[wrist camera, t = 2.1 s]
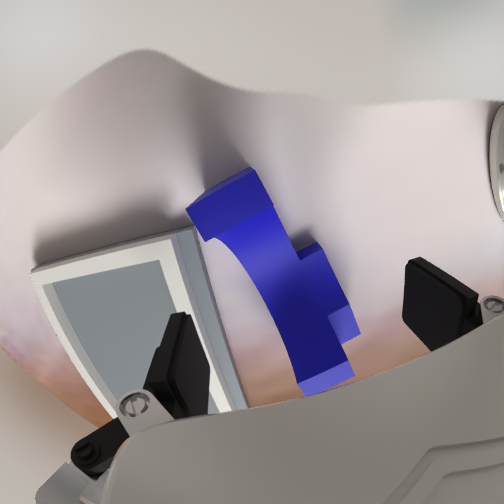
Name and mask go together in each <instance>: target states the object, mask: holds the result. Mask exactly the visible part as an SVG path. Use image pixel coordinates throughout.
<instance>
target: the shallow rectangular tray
mask: <svg viewBox="0 0 504 504" xmlns="http://www.w3.org/2000/svg"><path fill="white" fill-rule="evenodd" d="M31 272H32V273H30V274H29V276H30V278H31V281H32V283H33V286H34V288H35V290H36V293H37V295H38V297H39V300H40V302H41V304H42V306H43V308H44V310H45V312H46V315H47V317H48V319H49V321H50V323H51V325H52V326H53V328H54V330H55V332H56V334H57V336H58V338H59V339H60V341H61V343H62V345H63V347H64V348H65V350H66V352H67V353H68V355H69V357H70V358H71V360H72V362H73V363H74V365H75V366H76V368H77V370H78V371H79V373H80V374H81V376H82V377H83V379H84V380H85V382H86V383H87V385H88V386H89V387H90V389H91V390H92V392H93V393H94V394H95V396H96V397H97V399H98V400H99V401H100V403H101V404H102V405H103V406H104V408H105V409H106V410H107V412H108V413H109V414H110V415H111V417H112V418H113V419H115V418H116V417H118V416H117V414H116V411H115V407H116V404H117V402H118V400H119V399H120V398H121V397H122V396H123V395H124V394H126V393H127V392H130V391H132V390H137V389H143V386H144V383H145V380H146V376H147V373H148V370H149V367H150V364H151V361H152V358H153V356H154V353H155V350H156V348H157V347H160V344H161V341H162V338H163V335H164V332H165V329H166V326H167V323H168V320H169V318H170V315H171V314H172V313H178V312H184V311H185V312H186V314H191V316H192V319H193V322H194V324H195V327H196V330H197V333H198V335H199V338H200V341H201V343H202V346H203V349H204V351H205V354H206V357H207V359H208V362H209V365H210V386H209V402H208V414H214V413H221V412H227V411H233V410H240V409H246V408H250V406H249V403H248V401H247V398H246V395H245V392H244V389H243V386H242V383H241V380H240V377H239V374H238V371H237V368H236V365H235V362H234V359H233V356H232V353H231V350H230V347H229V344H228V341H227V337H226V334H225V331H224V328H223V324H222V321H221V318H220V314H219V311H218V308H217V304H216V301H215V298H214V294H213V291H212V287H211V284H210V280H209V276H208V273H207V269H206V266H205V262H204V258H203V255H202V251H201V247H200V243H199V239H198V236H197V232H196V228H195V225H194V226H189V227H185V228H180V229H176V230H171V231H167V232H163V233H159V234H154V235H150V236H146V237H142V238H138V239H134V240H130V241H126V242H122V243H118V244H114V245H110V246H106V247H102V248H98V249H95V250H91V251H87V252H83V253H80V254H76V255H72V256H69V257H65V258H62V259H58V260H55V261H51V262H48V263H44V264H41V265H38V266H36V267H35V268H33V269H32V270H31Z"/></svg>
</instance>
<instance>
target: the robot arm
mask: <svg viewBox="0 0 504 504" xmlns="http://www.w3.org/2000/svg"><path fill="white" fill-rule="evenodd" d="M489 158H490V175H491V184H492V189H493V194H494V199H495V202H496V205H497V209H498V211H499V213H500V216H501V218H502V219H503V221H504V105H502V106H501V107H500V108H499V110H498V111H497V113H496V116H495V118H494V121H493V125H492V130H491V137H490V154H489ZM478 296H479V294H478V293H476V292H475V291H473V290H472V289H470V288H469V287H467V286H466V285H464V284H463V283H461V282H460V281H458V280H457V279H455V278H454V277H452V276H451V275H449V274H448V273H446V272H444V271H443V270H441V269H440V268H438V267H436V266H435V265H433V264H432V263H430V262H428V261H427V260H425V259H423V258H422V257H418V258H414V259H411V260H409V261H408V264H406V266H405V285H404V299H403V311H402V318H403V321H404V323H405V324H406V325H407V326H408V327H409V328H410V329H411V330H412V331H413V332H414V333H415V334H416V335H417V337H418V338H419V339H420V340H421V341H422V342H423V343H424V344H425V345H426V346H427V347H428V349H429V350H430V351H431V352H430V353H427V354H425V355H423V356H421V357H418V358H416V359H414V360H412V361H409V362H407V363H404V364H402V365H400V366H397V367H395V368H392V369H390V370H387V371H384V372H382V373H379V374H376V375H374V376H371V377H368V378H365V379H362V380H359V381H356V382H353V383H350V384H347V385H344V386H340V387H337V388H334V389H330V390H327V391H323V392H320V393H316V394H312V395H308V396H305V397H300V398H296V399H292V400H288V401H283V402H278V403H274V404H269V405H263V406H258V407H252V408H246V409H240V410H233V411H227V412H221V413H214V414H208V402H209V386H210V365H209V362H208V359H207V357H206V354H205V351H204V349H203V346H202V343H201V341H200V338H199V335H198V333H197V330H196V327H195V324H194V322H193V319H192V316H191V314H186V312H185V311H184V312H178V313H172V314H171V315H170V318H169V320H168V323H167V326H166V329H165V332H164V335H163V338H162V341H161V344H160V347H157V348H156V350H155V353H154V356H153V358H152V361H151V364H150V367H149V370H148V373H147V376H146V380H145V383H144V386H143V389H137V390H132V391H130V392H127V393H126V394H124V395H123V396H122V397H121V398H120V399H119V400H118V402H117V404H116V407H115V411H116V414H117V416H118V417H116V418H115V419H113V420H112V421H110V422H108V423H107V424H105V425H104V426H102V427H100V428H99V429H97V430H96V431H94V432H92V433H91V434H89V435H88V436H86V437H84V438H83V439H81V440H79V441H78V442H77V443H76V444H75V445H74V447H73V448H72V451H71V460H72V461H71V462H70V463H69V464H68V463H66V462H65V463H64V464H63V465H62V466H61V467H60V468H59V469H58V470H57V471H56V472H55V473H54V474H53V475H52V476H51V477H50V478H49V479H48V480H47V481H46V482H45V483H44V484H43V485H42V486H41V487H40V488H39V490H38V491H37V493H36V497H35V499H36V504H504V299H502V298H500V297H498V296H486V297H484V298H482V300H481V301H480V304H479V303H478V302H477V300H478Z"/></svg>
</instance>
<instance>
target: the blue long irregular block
mask: <svg viewBox="0 0 504 504" xmlns="http://www.w3.org/2000/svg"><path fill="white" fill-rule="evenodd" d="M186 211H187V213H188V215H189V216H190V218H191V220H192V221H193V223H194V225H195V226H196V228H197V230H198V231H199V233H200V235H201V236H202V238H203V239H204V241H205V242H206V241H208V240H210V239H212V238H213V237H215V238H217V239H219V240H220V241H222V242H223V243H224V244H225V245H226V246H227V247H228V248H229V249H230V250H231V251H232V252H233V253H234V255H235V256H236V257H237V258H238V260H239V261H240V262H241V264H242V265H243V267H244V268H245V270H246V271H247V273H248V274H249V276H250V277H251V279H252V280H253V282H254V284H255V285H256V287H257V289H258V291H259V292H260V294H261V296H262V298H263V300H264V302H265V303H266V305H267V307H268V309H269V311H270V313H271V315H272V317H273V319H274V322H275V324H276V326H277V328H278V330H279V333H280V335H281V337H282V340H283V342H284V345H285V347H286V350H287V352H288V355H289V358H290V361H291V364H292V367H293V370H294V373H295V377H296V381H297V384H298V386H299V387H300V388H301V390H302V391H303V393H304V394H305V395H306V396H308V395H312V394H316V393H319V392H321V391H323V390H326V389H328V388H330V387H332V386H335V385H337V384H339V383H341V382H343V381H345V380H347V379H349V378H351V377H353V376H355V374H354V372H353V370H352V367H351V365H350V363H349V361H348V358H347V356H346V354H345V352H344V350H343V348H342V346H341V344H343V343H345V342H346V341H348V340H350V339H352V338H354V337H356V336H358V335H360V334H361V333H360V330H359V328H358V325H357V322H356V320H355V317H354V315H353V312H352V309H351V307H350V304H349V302H348V300H347V298H346V297H345V295H344V293H343V291H342V289H341V287H340V285H339V282H338V280H337V278H336V276H335V274H334V272H333V270H332V268H331V266H330V264H329V262H328V260H327V257H326V255H325V253H324V251H323V249H322V248H321V246H320V245H319V244H318V243H317V242H316V243H314V244H312V245H310V246H308V247H306V248H304V249H302V250H300V251H298V252H295V250H294V248H293V246H292V244H291V242H290V240H289V238H288V236H287V234H286V232H285V230H284V228H283V226H282V224H281V222H280V220H279V218H278V215H277V213H276V211H275V209H274V207H273V203H272V201H271V199H270V197H269V195H268V193H267V192H266V190H265V188H264V186H263V184H262V182H261V180H260V178H259V177H258V175H257V173H256V171H255V170H254V169H253V168H251V167H249V168H247V169H245V170H243V171H241V172H239V173H237V174H236V175H234V176H232V177H230V178H228V179H226V180H225V181H223V182H221V183H219V184H217V185H216V186H214V187H212V188H210V189H209V190H207V191H205V192H204V193H203V194H202V195H201V196H199V197H198V198H197V199H196V200H195V201H194V202H193V203H192V204H190V205H189V206H188V207H187V208H186Z"/></svg>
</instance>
